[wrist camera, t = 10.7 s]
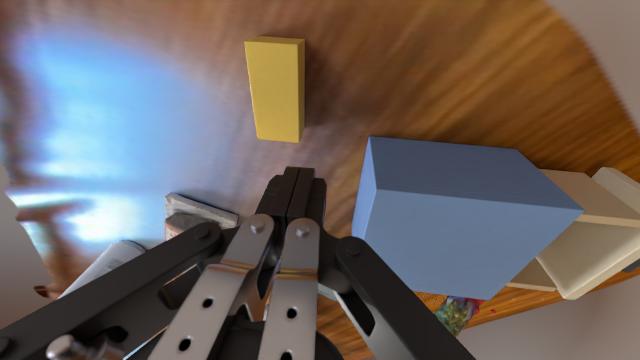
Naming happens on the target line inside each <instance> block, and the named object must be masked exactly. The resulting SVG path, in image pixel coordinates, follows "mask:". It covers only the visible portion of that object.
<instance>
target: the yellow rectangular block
mask: <svg viewBox="0 0 640 360" xmlns="http://www.w3.org/2000/svg"><path fill="white" fill-rule="evenodd" d="M244 43H245V51H246V58H247V65H248V73H249V80H250V87H251V94H252V102H253V109H254V116H255V124H256V131H257V138H258V139H264V140H275V141H285V142H296V143H299V142H300V139H301V136H302V134H303V131H304V128H305V39H297V38H282V37H267V36H257V37H254V38H251V39H248V40H246V41H244Z"/></svg>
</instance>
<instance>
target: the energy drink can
mask: <svg viewBox="0 0 640 360" xmlns="http://www.w3.org/2000/svg"><path fill="white" fill-rule="evenodd" d="M145 252H146V251H145V250H144V249H143V248H142V247H141V246H140V245H138V244H136V243H134V242H131V241H126V240H122V241H119V242H118V243H113V244H112V245H111V246H110V247H109V248H108V249H107V250H106V251H105V252H104V253H103V254H102V255H101V256H100V257H99V258H98V259H97V260H96V261H95V262H94V263H93V264H92V265H91V266H90V267H89V268H88V269H87V270H86V271H85V272H84V273H83V274H82V275H81V276H80V277H79V278H78V279H77V280H76V281H75V282H74V283H73V284H72V285H71V286H70V287H69V288H68V289H67V290H66V291H65V292H64V293H63V294H62V295H61V296H60V297H59V298H61V297H63V296H65V295H66V294H68V293H70V292H72V291H74V290H76V289H78V288H80V287H81V286H83V285H85V284H87V283H89V282H91V281H93V280H94V279H96V278H98V277H100V276H102V275H104V274H106V273H107V272H109V271H111V270H113V269H115V268H117V267H119V266H120V265H122V264H124V263H126V262H128V261H130V260H132V259H134V258H135V257H137V256H139V255H141V254H143V253H145ZM59 298H58V299H59Z"/></svg>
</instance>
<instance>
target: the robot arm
mask: <svg viewBox="0 0 640 360" xmlns="http://www.w3.org/2000/svg"><path fill="white" fill-rule="evenodd" d="M326 191H327V185H326V182H325V180H324V179H323V178H315V168H303V167H289V166H287V167H286V169H285V172H284V174H283V175H276V176H274V177H273V178H272V179H271V180H270V181H269V183H268V186H267V189H266V190H265V192H264V194H263V197H262V199H261V201H260V203H259V205H258V208H257V210H256V212H255V214H254V215H252V216H250V217H248V218H247V219H245V220H244V222H243V223H242V225H241V226H238V227H234V228H228V229H222V230H221V228H220V226H219V225H218V224H217V223H214V222H203V223H199V224H197V225H195V226H193V227H191V228H189V229H187V230H186V231H184V232H182V233H180V234H178V235H176V236H174V237H173V238H171V239H169V240H167V241H165V242H163V243H161V244H160V245H158V246H156V247H154V248H152V249H150V250H148V251H147V252H145V253H143V254H141V255H139V256H137V257H135V258H134V259H132V260H130V261H128V262H126V263H124V264H122V265H120V266H119V267H117V268H115V269H113V270H111V271H109V272H107V273H106V274H104V275H102V276H100V277H98V278H96V279H94V280H93V281H91V282H89V283H87V284H85V285H83V286H81V287H80V288H78V289H76V290H74V291H72V292H70V293H68V294H66V295H65V296H63V297H61V298H59V299H57V300H55V301H53V302H52V303H50V304H48V305H46V306H44V307H42V308H41V309H39V310H37V311H35V312H33V313H31V314H29V315H27V316H26V317H24V318H22V319H20V320H18V321H16V322H14V323H12V324H11V325H9V326H7V327H5V328H3V329H1V330H0V360H123V358H124V357H125V356H127V355H128V354H129V353H131V352H132V351H133V350H135V349H136V348H138V347H139V346H140V345H142V344H143V343H144V342H146V341H147V340H148V339H150V338H151V337H152V336H154V335H155V334H157V333H158V332H159V331H161V330H162V329H163V328H165V327H166V326H167V325H169V326H168V327H167V329H165V330H164V331H162V332H161V333H160V334H158V335H157V336H156V337H154V338H153V339H152V340H151V341H149V342H148V343H147V344H145V345H144V346H143V347H142V348H140V349H139V350H138V351H136V352H135V353H134V354H133V355H131V356H130V357H129V358H127V359H126V360H344V359H343V357H342V355H341V354H340V352H339V351H338V349H337V348H336V347H335V345H334V344H333V343H332V342H331V341H330V340H329V339H328V338H326V337H325V336H324V335H323V334H321V333H319V332H318V331H316V325H317V298H318V283H319V284H321V285H323V286H325V287H327V288H330V289H332V292H333V294H334V295H335V297H336V298H337V300H338V302H339V303H340V305H341V306H342V308H343V309H344V311H345V312H346V314H347V315H348V317H349V318H350V320H351V321H352V323H353V324H354V326H355V327H356V329H357V330H358V332H359V333H360V335H361V336H362V338H363V339H364V341H365V342H366V344H367V345H368V347H369V348H370V350H371V351H372V353H373V354H374V356H375V357H376V359H377V360H476V359H475V358H474V357H473V356H472V355H471V354H470V353H469V352H468V350H467V349H466V348H465V347H464V346H463V345H462V344H461V343H460V342H459V341H458V340H457V339H456V338H455V336H454V335H453V334H452V333H451V332H450V331H449V330H448V329H447V328H446V327H445V326H444V325H443V324H442V323H441V322H440V320H439V319H438V318H437V317H436V316H435V315H434V314H433V313H432V312H431V311H430V310H429V309H428V308H427V307H426V306H425V304H424V303H423V302H422V301H421V300H420V299H419V298H418V297H417V296H416V295H415V294H414V293H413V292H412V291H411V289H410V288H409V287H408V286H407V285H406V284H405V283H404V282H403V281H402V280H401V279H400V278H399V277H398V276H397V275H396V273H395V272H394V271H393V270H392V269H391V268H390V267H389V266H388V265H387V264H386V263H385V262H384V261H383V260H382V259H381V257H380V256H379V255H378V254H377V253H376V252H375V251H374V250H373V249H372V248H371V247H370V246H369V245H368V244H367V243H366V242H365V241H364V240H363V239H361V238H359V237H355V236H347V237H344V238H342V239H338V238H335V237H333V236H331V235H329V234H328V233H327V232H326V231H325V230H324V228H323V224H324V216H325V208H326ZM282 249H283V251H282ZM281 252H282V257H281V262H280V256H281ZM195 264H196V266H195V267H193V268H191V267H192V266H194V265H195ZM279 264H280V267H279ZM189 268H191V269H190V270H188V269H189ZM278 268H279V271H278V272H277V270H278ZM186 270H188V271H187V272H185V273H184V274H182V275H180V274H181V273H183V272H184V271H186ZM178 275H180V276H179V277H177V276H178ZM175 277H177V278H176V279H174V280H173V281H171V282H170V283H168V284H166V283H167V282H169V281H170V280H172V279H173V278H175ZM164 284H166V285H164ZM272 284H273V285H272ZM271 287H272V290H271ZM270 290H271V295H270V300H269V305H268V310H267V315H266V320H264V321H263V318H264V310H265V304H266V301H267V298H268V295H269V293H270Z"/></svg>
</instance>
